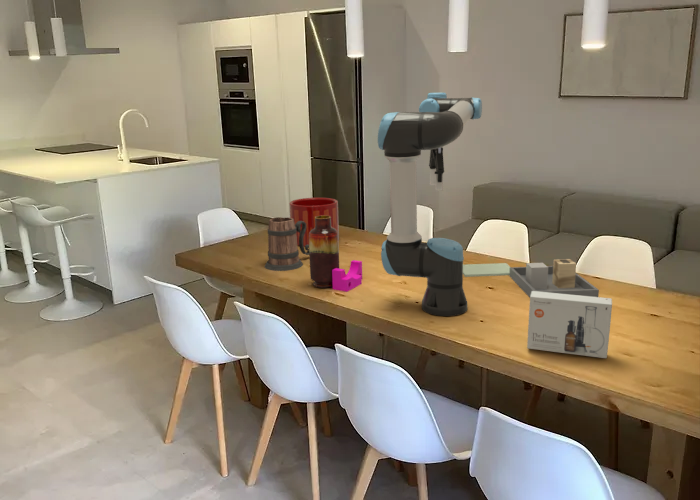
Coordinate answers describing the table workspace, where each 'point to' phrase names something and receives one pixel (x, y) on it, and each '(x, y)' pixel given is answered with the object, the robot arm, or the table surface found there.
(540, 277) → the grey box
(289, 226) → the tankard
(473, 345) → the table surface
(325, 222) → the vase
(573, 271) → the maple box
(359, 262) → the toy block
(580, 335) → the skincare box
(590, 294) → the parts bin
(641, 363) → the table surface
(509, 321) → the table surface
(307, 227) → the planter
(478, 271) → the mat
